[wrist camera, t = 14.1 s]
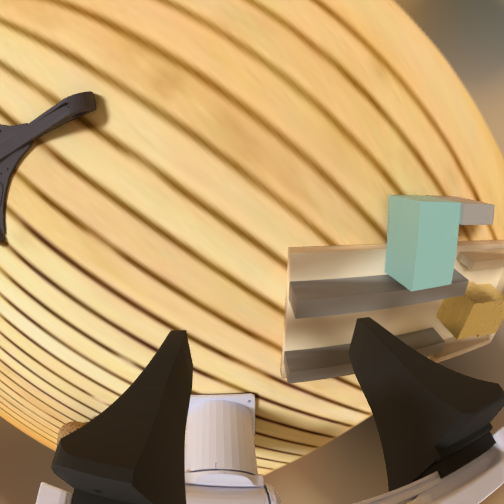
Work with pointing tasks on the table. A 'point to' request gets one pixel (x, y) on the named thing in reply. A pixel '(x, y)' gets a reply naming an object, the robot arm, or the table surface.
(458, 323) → the golden brown cube
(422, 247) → the two-tone l-shaped block
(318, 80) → the table surface
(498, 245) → the slot board
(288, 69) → the table surface
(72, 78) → the table surface
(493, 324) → the yellow cube
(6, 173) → the bracket
